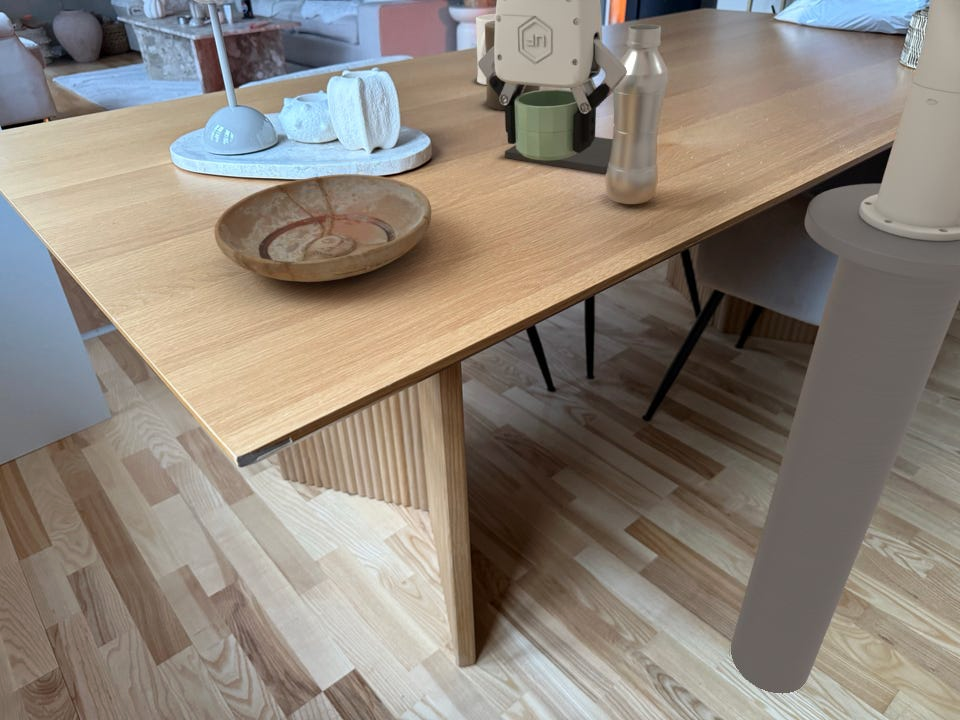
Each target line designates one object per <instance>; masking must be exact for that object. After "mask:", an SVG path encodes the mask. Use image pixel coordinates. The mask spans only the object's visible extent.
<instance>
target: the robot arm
mask: <svg viewBox="0 0 960 720" xmlns="http://www.w3.org/2000/svg"><path fill="white" fill-rule="evenodd" d="M495 4H496V5H495V13H494V14H495V39H494V46H493V47H492V48H491V49H490V50H489V51H488V52H487V53H486V54H485V55H484V56H483V57H482V58H481V59H480V60H479V62H478V64H477V67H478V66H479V68H480V69H481V71H482V72H483V74H484V75H485V77H486V78H487V79H488V80H489V84H490V86H491V87H492V88H493V90H494V91H495V92H496V93H497V95H498V96H499V100H500V103H501V104H502V105H505V110H504V127H505V132H506V134H507V135H506V136H507V144H510V145H516V129H515V99H516V97H517V96H519V95H521V94H523V92H524V89H525V87H526V85H533V86H540V87H545V88H547V87H548V88H556V89H557V88H558V89H559V88H560V89H569V90H570V91H571V92H572V94H573V96H574V98H575V101H576V103H577V105H578V112H577V113H575V114H574V121H573V151H575V152H576V153H581V152H582V151H584V150H585V149H587V148H588V147H589V146H591V144H592V142H593V141H594V138H595V137H596V122H597V108H598V107H599V106H601V104H602V103H603V102H604V101H605V100H606V99H607V98H608V97H609V96H610V95H611V94H613V90H614V89H615V87H617V85H618V84H619V83H620V82H621V81H622V79H623V78H624V77H625V76H626V74H627V69H626V67H625V66H624V65H623V64H622V63H621V62H620V60H619V59H618V58H617V56H616V55H614V53H612V52H611V50H610V49H609V48H608V47H607V46H606V45H605V44H604V43H603V19H602V3H601V0H496V3H495ZM925 27H926V28H925V31H924V32H925V33H924V36H923V40H922V45H921V49H920V53H919V57H918V60H917V63H916V67H915V70H914V73H913V77H912V79H911V82H910V86H909V90H908V92H907V96H906V98H905V99H906V100H905V103H904V106H903V109H902V113H901V116H900V120H899V123H898V126H897V130H896V133H895V137H894V140H893V143H892V147H891V150H890V154H889V157H888V160H887V163H886V167H885V170H884V173H883V177H882V181H881V183H880V184H881V187H880V190H879V194H876V195H873V196H870V197H868V198H866V199H864V200H863V201H862V202H861V206H860V209H859V215H860V216H861V218H862V219H863V220H864V221H865V222H866V223H868V224H869V225H871V226H872V227H875V228H877V229H879V230H881V231H884V232H887V233H890V234H893V235H897V236H901V237H905V238H910V239H917V240H925V241H956V240H960V0H929V5H928V15H927V20H926V26H925ZM601 70H603V71H604V74H605V76H604V78H603V80H602V81H601V83H600V84H599V85H596V84H595V81H594V78H595V77H597V76H598V75H600V72H601Z"/></svg>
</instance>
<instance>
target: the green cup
mask: <svg viewBox="0 0 960 720" xmlns="http://www.w3.org/2000/svg"><path fill="white" fill-rule="evenodd" d="M577 112H578V105H577V103H576V101H575V98H574V96H573V94H572V92H571V89H569V90H568V89H559V88H558V89H557V88H556V89H539V91H532V92H528V93H524V94H521V95H519V96H517V97H516V99H515V129H516V143H515V145H516V149H517V150H518V151H519V152H520V153H521V154H522V155H523V156H525V157H527V158H530V159H535V160H559V159H564V158H568V157H571V156H573V155H575V154H576V152H575V151H573V121H574V114H575V113H577Z"/></svg>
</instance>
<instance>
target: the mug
mask: <svg viewBox="0 0 960 720" xmlns="http://www.w3.org/2000/svg"><path fill="white" fill-rule="evenodd" d="M495 14H496V13H488V14H481V15H478V16H476V17H475V33H476V34H475V35H476V58H477V59H476V61H477V64H476V65H477V77H476V82H477V83H478V84H479V85H484V86H487V85H486V77H485V75H484V74H483V72H482V71H481V69H480V68H479V66H478V62H479V60H480V59H481V58H482V57H483V56H484V55H485V54H486V48H485V23H487V22H490V21H494V20H495Z"/></svg>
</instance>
